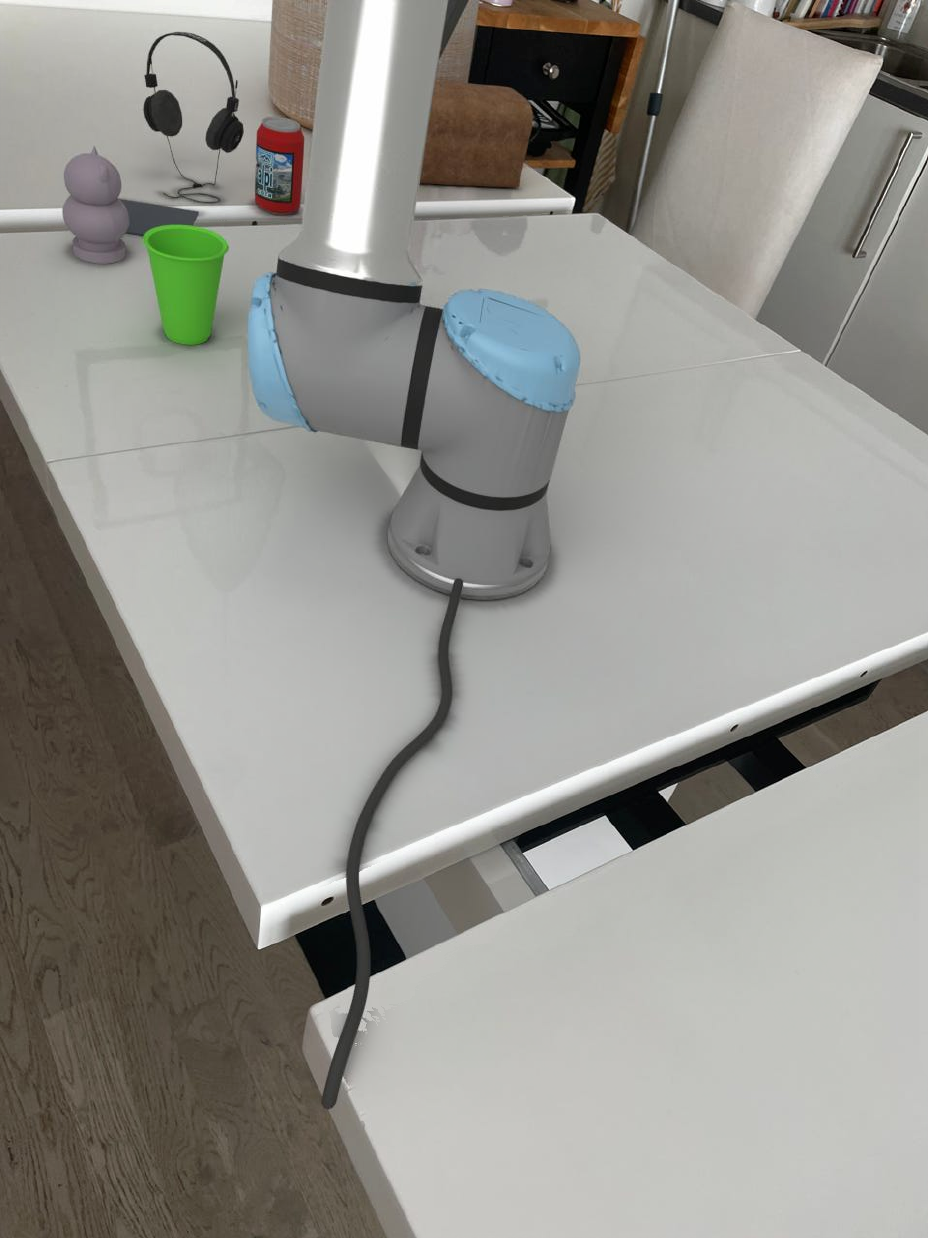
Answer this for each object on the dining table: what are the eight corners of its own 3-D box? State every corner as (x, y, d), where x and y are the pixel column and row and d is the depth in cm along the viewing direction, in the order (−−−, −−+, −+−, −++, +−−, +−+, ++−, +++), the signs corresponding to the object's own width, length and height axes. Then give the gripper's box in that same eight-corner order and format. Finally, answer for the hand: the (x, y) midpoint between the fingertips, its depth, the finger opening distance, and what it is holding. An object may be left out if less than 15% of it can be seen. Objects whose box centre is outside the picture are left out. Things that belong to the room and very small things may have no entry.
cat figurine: (59, 239, 127) (49, 141, 119) (122, 238, 130) (116, 142, 122) (73, 268, 121) (64, 167, 114) (138, 265, 125) (133, 168, 117)
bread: (521, 190, 172) (539, 103, 163) (333, 181, 160) (341, 85, 150) (492, 161, 181) (507, 77, 172) (312, 151, 169) (318, 59, 159)
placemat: (185, 241, 133) (185, 240, 133) (100, 229, 131) (100, 227, 131) (198, 212, 141) (198, 211, 141) (119, 200, 139) (119, 198, 139)
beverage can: (245, 206, 146) (247, 119, 138) (272, 196, 150) (275, 111, 143) (282, 220, 144) (287, 133, 136) (309, 210, 149) (314, 125, 141)
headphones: (119, 181, 144) (110, 27, 131) (161, 163, 153) (156, 16, 140) (211, 210, 142) (211, 56, 129) (248, 189, 151) (252, 43, 138)
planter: (468, 113, 203) (498, -75, 181) (448, 167, 175) (481, -48, 154) (293, 75, 201) (303, -119, 180) (244, 123, 174) (249, -100, 152)
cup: (138, 318, 115) (133, 224, 108) (215, 314, 119) (215, 223, 112) (157, 355, 109) (153, 259, 102) (237, 350, 113) (239, 257, 106)
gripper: (513, -85, 110) (449, 138, 119) (411, -114, 113) (357, 107, 122) (490, -111, 103) (425, 128, 112) (383, -141, 106) (328, 95, 115)
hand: (390, 117), depth 117 cm, fingers closed
